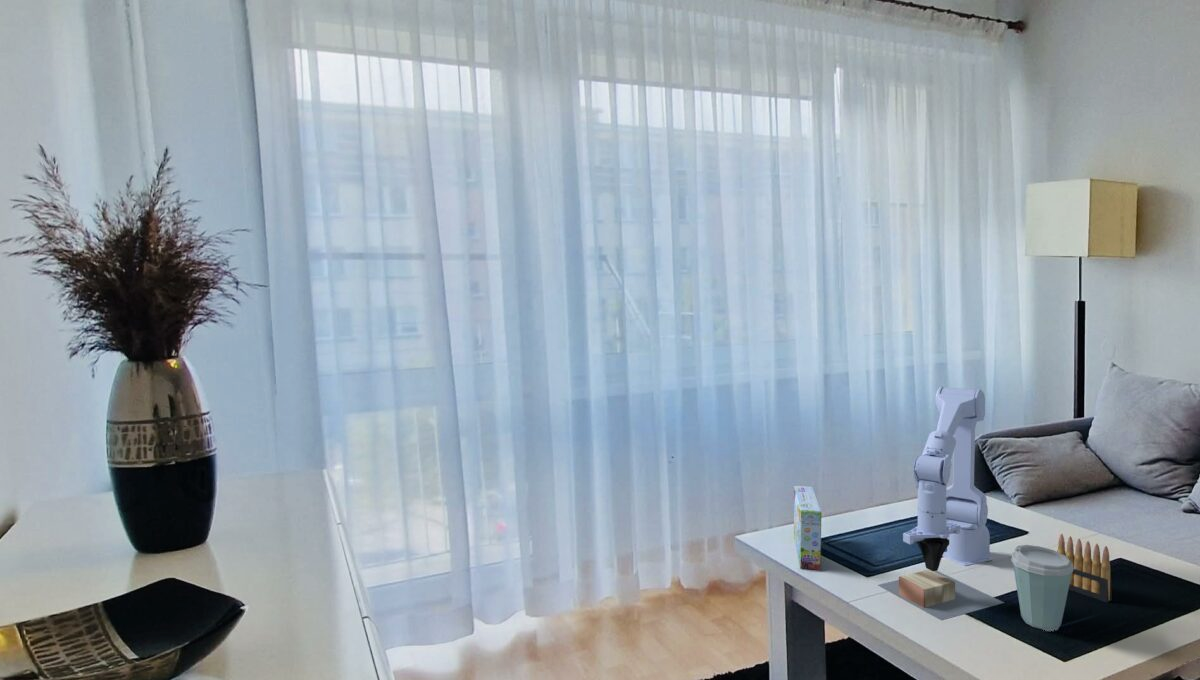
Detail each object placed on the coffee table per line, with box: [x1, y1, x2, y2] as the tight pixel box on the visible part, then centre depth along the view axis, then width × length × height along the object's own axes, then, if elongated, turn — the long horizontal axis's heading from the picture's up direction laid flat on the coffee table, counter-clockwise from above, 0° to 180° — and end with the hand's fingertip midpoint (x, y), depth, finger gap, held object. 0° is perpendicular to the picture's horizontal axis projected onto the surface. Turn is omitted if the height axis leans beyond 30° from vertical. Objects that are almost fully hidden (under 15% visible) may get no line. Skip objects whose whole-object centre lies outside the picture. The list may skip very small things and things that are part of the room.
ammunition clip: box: [1056, 533, 1113, 603], centre depth 149 cm, size 11×2×12 cm, turn 29°
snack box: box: [793, 485, 822, 570], centre depth 176 cm, size 21×6×15 cm, turn 168°
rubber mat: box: [877, 570, 1005, 621], centre depth 151 cm, size 18×18×1 cm
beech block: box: [898, 569, 955, 608], centre depth 149 cm, size 4×7×9 cm
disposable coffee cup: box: [1010, 544, 1074, 632], centre depth 136 cm, size 11×11×15 cm
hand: (931, 569), depth 150 cm, fingers closed
